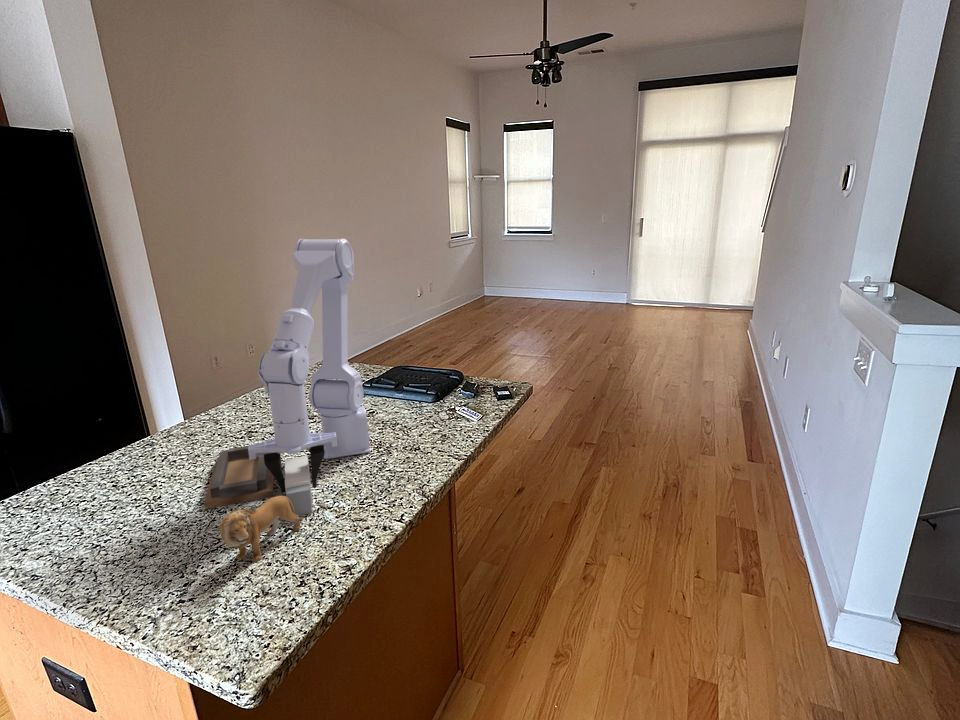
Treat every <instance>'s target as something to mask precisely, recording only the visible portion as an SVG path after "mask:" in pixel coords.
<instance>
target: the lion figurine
mask: <svg viewBox="0 0 960 720" xmlns="http://www.w3.org/2000/svg"><path fill="white" fill-rule="evenodd" d="M279 518H280V519H282V520H283V521H286V522H292V523H293V522H294V525H293V526H292V530H293V531H294V532H296V531H300V529H301V522H300V517H299V516H298V515H295V511H294V508H293V505H292V503H291V501H290V500H289V498H287V496H285V495H278V496H273V497H269V499H267V500H266V501H265V502H264V503H262V504H261V505H260V506H259V507H257V508H256V509H254V510H250V509H248V508H244V509H242V510H238V509H236V510H233V511H230V512H229V513H227V514H226V515H224V516H223V517H222V518H221V521H220V523H219V524H218V527H219V534H220V535H219V536H220V537H221V539H222V540H223V543H224V544H225V545H226V547H228V548H235V549H238V550H239V552H238V553H237V554H236V556H235V557H236V560H240V559H241V560H244V558H245V557H246V554H247V548H246V547H247V546H248V545H251V546H252V557H251V560H252V561H253V562H258V561H261V559H262V551H261V549H260V548H261V547H260V537H261V534H262V533H264V532H265V531H266V530H267V532H266V536H272V535H275V533H276V532H277V530H278V527H279V525H280V523H281V521H280V520H279ZM271 525H272V527H271V528H270V526H271ZM269 528H270V529H269ZM268 529H269V530H268ZM241 560H240V561H241Z"/></svg>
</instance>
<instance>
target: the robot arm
mask: <svg viewBox="0 0 960 720" xmlns="http://www.w3.org/2000/svg"><path fill="white" fill-rule="evenodd" d="M292 256H293V258H292V259H293V262H294V266H295V269H296V271H297V273H296V279H295V284H294V288H293V294H292V298H291V301H290V302H291V303H290V307H289V309H287V310H284V311H283V312H281V314H280V318H279V321H278V324H277V327H276V331H275V334H274V337H273V340H272V343H271V346H270V349H269V350H268V351H266V352H264V353H263V354H262V355H261V357H260V358H259V364H258V370H257V375H258V378H259V380H260V381H261V383H262V384H263V387H264V392H265V393H266V394H268V397H269V404H270V410H271V412H270V413H271V417H272V425H273V431H274V432H273V434H274V438H272V439H269V440H266V441H262V442H258V443H254V444H249V445H248V446H249V447H248V453H249V460H252V459H256V458H257V457H261V456H264V464H265V466H266V467H267V468H268V469H269V471H270V472H271V473H272V474H273V476H274V480H276V483H277V485H278V486H279V490H280V493H281V494H286V489H285V474H284V472H283V466H282V456H281V455H282V454H285V453H287V454H288V455H294V454H299V453H300V452H301V451H305V450H309V457H310V466H311V468H310V469H311V471H310V472H311V474H310V475H311V487H312V488H317V485H318V476H319V470H320V467H321V466H322V465H321V464H322V462H323V460H331V459H336V458H343V457H348V456H354V455H360V454H367V453H369V452H371V448H370V432H369V424H368V423H369V421H368V417H367V411H366V408H365V406H362V404H363V402H364V387H363V384H362V383H363V382H362V376H361V374H360V372H359V371H357V370H356V369H355V368H353V367H352V366H351V365H350V364H349V363H348V362H349V361H348V360H349V359H348V358H349V357H348V356H349V355H348V353H349V351H348V350H349V349H348V348H349V347H348V346H349V345H348V342H349V341H348V335H349V334H348V332H349V331H348V327H349V326H348V319H349V318H348V285H349V284H350V283H352V282H354V279H355V278H354V275H355V254H354V250H353V248H352V245H351V243H350V242H349V241H348V240H347V239H346V238H344V237H343V238H337V239H336V238H335V239H333V238H330V239H327V238H326V239H324V238H323V239H320V238H318V239H316V238H315V239H314V238H313V239H312V238H310V239H306V238H299V239H298V240H297V241H296V243H295V245H294V248H293V255H292ZM320 291H321V303H322V304H321V305H322V306H321V309H322V311H321V312H322V313H321V315H322V318H321V319H322V321H321V322H322V324H321V325H322V327H321V328H322V329H321V330H322V332H321V333H322V366H321V367H319V368H318V369H317V370H315V372H313V373H312V374H311V380H310V386H309V392H308V398H309V403H310V404H311V406H312V408H313V409H315V410H316V414H320V420H321V431H322V432H321V433H320V432H318V433H317V432H316V433H315V432H314V433H311V432H310V426H309V425H310V423H309V416H308V408H307V399H306V398H307V397H306V390H305V389H306V388H305V382H306V380H307V379H308V375H309V373H310V351H308V349H309V346H310V341H311V337H312V334H313V331H314V326H315V320H314V319H313V317H312V315H311V314H312V312H313V309H314V307H315V304H316V301H317V299H318V296H319V295H320Z"/></svg>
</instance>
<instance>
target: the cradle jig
mask: <svg viewBox="0 0 960 720" xmlns="http://www.w3.org/2000/svg"><path fill="white" fill-rule="evenodd" d="M248 447H249V445H243V446H236V447H230V448H228V449H227V450H221V451H219V454H218V457H216V459H215V463H214V466H213V470H212V474H211V477H210V480H209V484H208V489H207V492H206V495H205V498H204V502H203V504H204V509H205V510H207V509H211V508H217V507H223V506H229V505H233V504H240V503H244V502H250V501H255V500H256V501H257V500H262V499H266V498H272V497H275V496H274V495H275V494H274V491H275V488H274V487H275V477H274V476H273V474H272V473H271V472H270V471H269V469H268V468H267V467H266V466H265V464H264V456H261V457H257V458H256V459H252V460H249V453H248Z"/></svg>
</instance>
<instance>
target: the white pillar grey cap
mask: <svg viewBox="0 0 960 720" xmlns="http://www.w3.org/2000/svg"><path fill="white" fill-rule="evenodd" d="M310 472H311V471H310V465H309V457H308V455H304V456H298V457H292V458H285V459H284V480H285V489H286V492H285V495H286V496H285V497H287V498H289V500H290V501H291V503H292V505H293V508H294V511H295V515H298V517H299V516H304V515H310V514H312V513H313V507H314V504H313V493H312V480H311V474H310Z"/></svg>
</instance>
